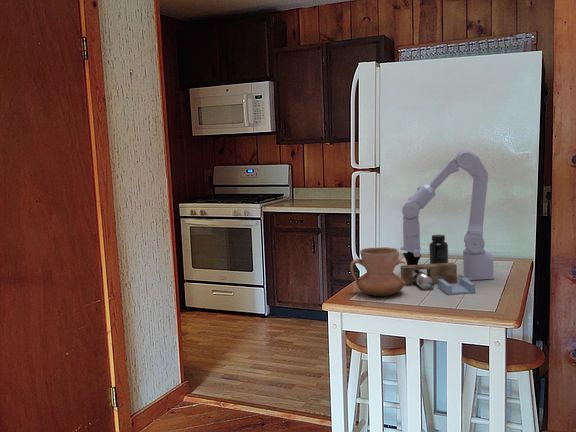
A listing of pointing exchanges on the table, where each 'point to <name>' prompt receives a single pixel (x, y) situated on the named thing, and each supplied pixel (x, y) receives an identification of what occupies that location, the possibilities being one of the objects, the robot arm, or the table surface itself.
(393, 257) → the ceramic jug
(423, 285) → the axle
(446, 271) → the beam
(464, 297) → the table surface
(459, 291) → the cradle
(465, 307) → the table surface
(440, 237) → the supplement bottle
